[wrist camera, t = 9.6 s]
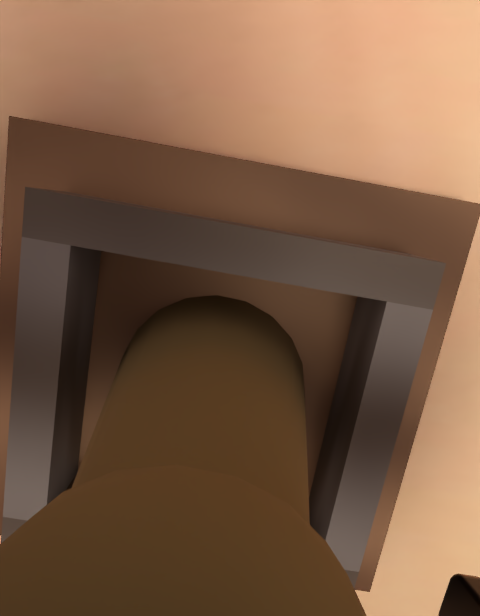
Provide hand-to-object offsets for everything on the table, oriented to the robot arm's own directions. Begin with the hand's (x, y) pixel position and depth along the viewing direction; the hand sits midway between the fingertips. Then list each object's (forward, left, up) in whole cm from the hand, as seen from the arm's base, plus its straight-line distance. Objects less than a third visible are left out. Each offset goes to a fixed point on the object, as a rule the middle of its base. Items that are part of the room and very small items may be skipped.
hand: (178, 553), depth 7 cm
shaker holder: (0, 0, -8) cm, 8 cm away
